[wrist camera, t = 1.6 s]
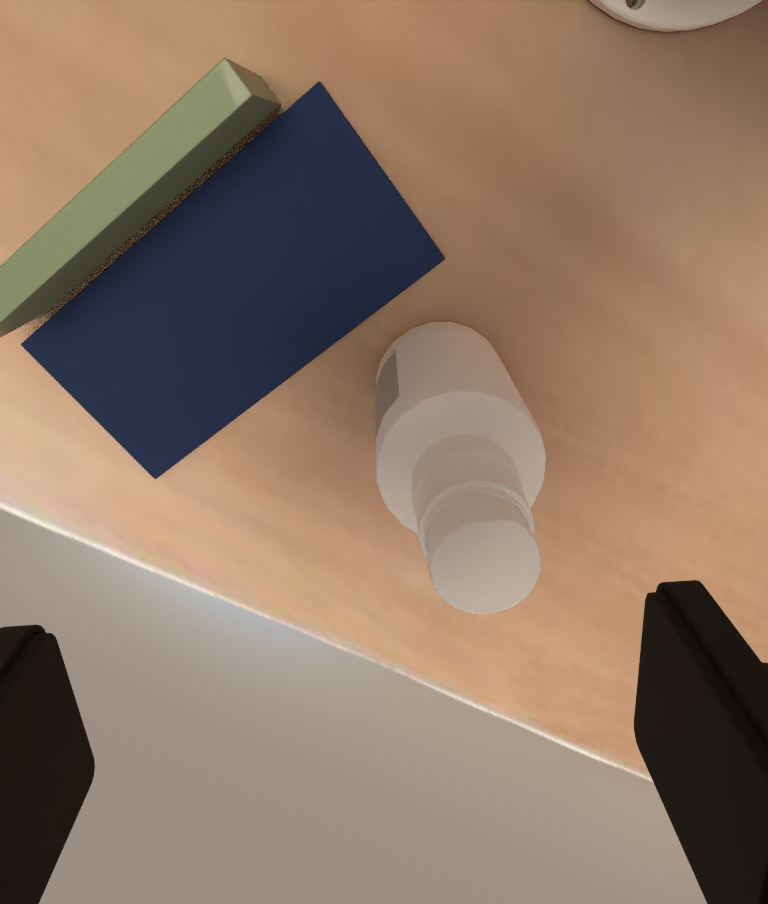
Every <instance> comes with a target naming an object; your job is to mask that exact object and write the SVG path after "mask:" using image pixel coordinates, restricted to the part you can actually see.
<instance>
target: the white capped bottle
mask: <svg viewBox="0 0 768 904" xmlns="http://www.w3.org/2000/svg"><path fill="white" fill-rule="evenodd" d="M545 464H546V452H545V448H544V445H543V441H542V437H541V433H540V430H539V429H538V427H537V425H536V423H535V421H534V419H533V418H532V416H531V414H530V412H529V410H528V409H527V407H526V405H525V403H524V401H523V399H522V398H521V396H520V394H519V392H518V390H517V389H516V387H515V385H514V383H513V381H512V379H511V378H510V376H509V374H508V372H507V370H506V368H505V367H504V365H503V363H502V361H501V359H500V358H499V356H498V354H497V353H496V351H495V350H494V348H493V347H492V346H491V344H490V343H489V341H488V340H487V339H486V338H484V337H483V336H482V335H480V334H479V333H478V332H476V331H475V330H474V329H472V328H470V327H467V326H464V325H461V324H457V323H454V322H429V323H426V324H423V325H420V326H417V327H414V328H411V329H410V330H408V331H407V332H405V333H404V334H403V335H401V336H400V337H398V338H397V339H396V340H394V342H393V343H392V344H391V346H390V347H389V348H388V350H387V351H386V352H385V354H384V355H383V356H382V359H381V362H380V365H379V368H378V371H377V374H376V482H377V485H378V488H379V491H380V493H381V496H382V499H383V502H384V504H385V505H386V506H387V508H388V509H389V510H390V511H391V513H392V514H393V515H394V516H395V517H396V519H397V520H398V521H399V522H400V523H401V524H402V525H404V526H405V527H407V528H408V529H410V530H412V531H413V532H415V533H416V534H418V538H419V543H420V546H421V548H422V551H423V554H424V556H425V557H426V558H427V560H428V565H429V573H430V578H431V581H432V584H433V586H434V589H435V591H436V592H437V593H438V594H439V596H440V597H441V598H442V599H443V600H444V601H445V602H446V603H448V604H449V605H451V606H452V607H454V608H456V609H457V610H460V611H464V612H467V613H471V614H493V613H497V612H501V611H505V610H508V609H509V608H511V607H513V606H515V605H516V604H518V603H520V602H522V601H523V600H524V599H525V597H526V596H527V595H528V594H529V593H530V592H531V591H532V590H533V588H534V586H535V584H536V582H537V580H538V578H539V576H540V570H541V558H540V555H539V552H538V548H537V545H536V542H535V539H534V537H533V535H534V525H535V524H534V521H533V517H532V513H531V509H530V508H531V507H532V506H533V504H534V502H535V500H536V498H537V496H538V494H539V491H540V489H541V487H542V485H543V483H544V474H545Z"/></svg>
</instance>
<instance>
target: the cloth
mask: <svg viewBox="0 0 768 904" xmlns="http://www.w3.org/2000/svg"><path fill="white" fill-rule="evenodd" d="M444 259H445V258H444V256H443V255H442V253H441V252H440V250H439V249H438V248H437V246H436V245H435V243H434V242H433V240H432V239H431V238H430V236H429V235H428V233H427V232H426V231H425V229H424V228H423V226H422V225H421V223H420V222H419V221H418V219H417V218H416V216H415V215H414V214H413V212H412V211H411V209H410V208H409V207H408V205H407V204H406V202H405V201H404V199H403V198H402V197H401V195H400V194H399V192H398V191H397V190H396V188H395V187H394V185H393V184H392V183H391V181H390V180H389V178H388V177H387V175H386V174H385V173H384V171H383V170H382V168H381V167H380V166H379V164H378V163H377V161H376V160H375V158H374V157H373V156H372V154H371V153H370V151H369V150H368V149H367V147H366V146H365V144H364V143H363V142H362V140H361V139H360V137H359V136H358V134H357V133H356V132H355V130H354V129H353V127H352V126H351V125H350V123H349V122H348V120H347V119H346V117H345V116H344V115H343V113H342V112H341V110H340V109H339V108H338V106H337V105H336V103H335V102H334V101H333V99H332V98H331V96H330V95H329V93H328V92H327V91H326V89H325V88H324V86H323V85H322V84H321V82H318V83H317V84H316V85H314V86H313V87H312V88H311V89H310V90H309V91H308V92H307V93H305V94H304V95H303V96H302V97H301V98H300V99H299V100H297V101H296V102H295V103H294V104H293V105H292V106H291V107H290V108H288V109H287V110H286V111H285V112H284V113H283V114H282V115H280V116H279V117H278V118H277V119H276V120H275V121H274V122H272V123H271V124H270V125H269V126H268V127H267V128H266V129H265V130H263V131H262V132H261V133H260V134H259V135H258V136H257V137H255V138H254V139H253V140H252V141H251V142H250V143H249V144H248V145H246V146H245V147H244V148H243V149H242V150H241V151H240V152H238V153H237V154H236V155H235V156H234V157H233V158H232V159H231V160H229V161H228V162H227V163H226V164H225V165H224V166H223V167H221V168H220V169H219V170H218V171H217V172H216V173H215V174H213V175H212V176H211V177H210V178H209V179H208V180H207V181H206V182H204V183H203V184H202V185H201V186H200V187H199V188H198V189H196V190H195V191H194V192H193V193H192V194H191V195H190V196H189V197H187V198H186V199H185V200H184V201H183V202H182V203H181V204H179V205H178V206H177V207H176V208H175V209H174V210H173V211H172V212H170V213H169V214H168V215H167V216H166V217H165V218H164V219H162V220H161V221H160V222H159V223H158V224H157V225H156V226H154V227H153V228H152V229H151V230H150V231H149V232H148V233H147V234H145V235H144V236H143V237H142V238H141V239H140V240H139V241H137V242H136V243H135V244H134V245H133V246H132V247H131V248H130V249H128V250H127V251H126V252H125V253H124V254H123V255H122V256H120V257H119V258H118V259H117V260H116V261H115V262H114V263H113V264H111V265H110V266H109V267H108V268H107V269H106V270H105V271H103V272H102V273H101V274H100V275H99V276H98V277H97V278H95V279H94V280H93V281H92V282H91V283H90V284H89V285H88V286H86V287H85V288H84V289H83V290H82V291H81V292H80V293H78V294H77V295H76V296H75V297H74V298H73V299H72V300H71V301H69V302H68V303H67V304H66V305H65V306H64V307H63V308H61V309H60V310H59V311H58V312H57V313H56V314H55V315H54V316H52V317H51V318H50V319H49V320H48V321H47V322H46V323H44V324H43V325H42V326H41V327H40V328H39V329H38V330H36V331H35V332H34V333H33V334H32V335H31V336H30V337H29V338H27V339H26V340H25V341H24V342H23V343H22V344H21V345H22V346H23V347H24V348H25V349H26V350H27V351H28V352H29V353H30V354H31V355H32V356H33V357H34V358H35V359H36V360H37V361H38V362H39V363H40V364H41V365H42V366H43V367H44V368H45V369H46V370H47V371H48V372H49V373H50V375H51V376H52V377H53V378H54V379H55V380H56V381H57V382H58V383H59V384H60V385H61V386H62V387H63V388H64V389H65V390H66V391H67V392H68V393H69V394H70V395H71V396H72V397H73V398H74V399H75V400H76V401H77V402H78V403H79V404H80V405H81V406H82V407H83V408H84V409H85V410H86V411H87V412H88V413H89V414H90V415H91V416H92V417H93V418H94V419H95V420H96V421H97V422H98V423H99V424H100V425H101V426H102V427H103V428H104V429H105V430H106V431H107V432H108V433H109V434H110V435H111V436H112V437H113V438H114V439H115V440H116V441H117V442H118V443H119V444H120V445H121V446H122V447H123V448H124V449H125V450H126V451H127V452H128V453H129V454H130V455H131V456H132V457H133V458H134V459H135V460H136V461H137V462H138V463H139V464H140V465H141V466H142V467H143V468H144V469H145V470H146V471H147V472H148V473H149V474H150V475H151V476H152V477H153V478H154V479H156V478H158V477H159V476H160V475H162V474H163V473H164V472H166V471H167V470H168V469H170V468H171V467H172V466H173V465H175V464H176V463H177V462H179V461H180V460H181V459H183V458H184V457H185V456H187V455H188V454H189V453H191V452H192V451H193V450H195V449H196V448H197V447H198V446H200V445H201V444H202V443H204V442H205V441H206V440H208V439H209V438H210V437H212V436H213V435H214V434H216V433H217V432H218V431H219V430H221V429H222V428H223V427H225V426H226V425H227V424H229V423H230V422H231V421H233V420H234V419H235V418H237V417H238V416H239V415H241V414H242V413H243V412H244V411H246V410H247V409H248V408H250V407H251V406H252V405H254V404H255V403H256V402H258V401H259V400H260V399H262V398H263V397H264V396H266V395H267V394H268V393H269V392H271V391H272V390H273V389H275V388H276V387H277V386H279V385H280V384H281V383H283V382H284V381H285V380H287V379H288V378H289V377H291V376H292V375H293V374H294V373H296V372H297V371H298V370H300V369H301V368H302V367H304V366H305V365H306V364H308V363H309V362H310V361H312V360H313V359H314V358H315V357H317V356H318V355H319V354H321V353H322V352H323V351H325V350H326V349H327V348H329V347H330V346H331V345H333V344H334V343H335V342H337V341H338V340H339V339H340V338H342V337H343V336H344V335H346V334H347V333H348V332H350V331H351V330H352V329H354V328H355V327H356V326H358V325H359V324H360V323H362V322H363V321H364V320H365V319H367V318H368V317H369V316H371V315H372V314H373V313H375V312H376V311H377V310H379V309H380V308H381V307H383V306H384V305H385V304H387V303H388V302H389V301H390V300H392V299H393V298H394V297H396V296H397V295H398V294H400V293H401V292H402V291H404V290H405V289H406V288H408V287H409V286H410V285H411V284H413V283H414V282H415V281H417V280H418V279H419V278H421V277H422V276H423V275H425V274H426V273H427V272H429V271H430V270H431V269H433V268H434V267H435V266H436V265H438V264H439V263H440V262H442V261H443V260H444Z"/></svg>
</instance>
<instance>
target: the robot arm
mask: <svg viewBox="0 0 768 904" xmlns="http://www.w3.org/2000/svg"><path fill="white" fill-rule="evenodd" d="M590 1H591V3H593V4H594V5H596V6H597V7H599V8H600V9H601V10H603V11H604V12H606V13H607V14H609V15H610V16H611V17H613V18H615V19H617V20H620V21H622V22H625V23H627V24H630V25H632V26H635V27H637V28H641V29H648V30H655V31H662V32H672V31H686V30H694V29H698V28H701V27H705V26H709V25H713V24H716V23H719V22H721V21H724V20H726V19H729V18H731V17H733V16H736V15H738V14H741V13H743V12H745V11H746V10H748V9H749V8H751V7H753V6H754V5H756V4H757V3H759V2H761V1H762V0H634V5H633V6H632V7H628V6H627V5H626V1H625V0H590ZM634 732H635V738H636V742H637V745H638V748H639V750H640V753H641V755H642V757H643V759H644V762H645V764H646V766H647V768H648V771H649V773H650V775H651V777H652V780H653V782H654V784H655V786H656V789H657V791H658V793H659V795H660V798H661V800H662V802H663V804H664V807H665V809H666V811H667V813H668V816H669V818H670V820H671V822H672V825H673V827H674V829H675V832H676V834H677V836H678V838H679V841H680V843H681V845H682V847H683V850H684V852H685V854H686V856H687V858H688V861H689V863H690V865H691V868H692V870H693V872H694V874H695V877H696V879H697V881H698V883H699V886H700V888H701V890H702V892H703V895H704V897H705V899H706V901H707V904H768V663H762V662H761V661H760V660H759V658H758V657H757V656H756V654H755V653H754V652H753V650H752V649H751V648H750V646H749V645H748V644H747V642H746V641H745V640H744V638H743V637H742V636H741V635H740V633H739V632H738V631H737V629H736V628H735V627H734V625H733V624H732V623H731V621H730V620H729V619H728V617H727V616H726V615H725V613H724V612H723V611H722V609H721V608H720V607H719V605H718V604H717V603H716V601H715V600H714V599H713V597H712V596H711V595H710V593H709V592H708V591H707V590H706V588H705V587H704V586H703V584H702V583H701V582H700V581H696V580H692V581H677V582H663V583H660V584H659V585H658V587H657V590H656V592H654V593H648V594H647V596H646V600H645V609H644V620H643V631H642V641H641V652H640V663H639V674H638V684H637V695H636V706H635V717H634ZM94 768H95V767H94V757H93V754H92V751H91V747H90V744H89V741H88V738H87V735H86V731H85V728H84V725H83V722H82V719H81V716H80V712H79V709H78V706H77V703H76V699H75V696H74V694H73V690H72V687H71V684H70V680H69V677H68V674H67V671H66V668H65V664H64V661H63V658H62V655H61V652H60V648H59V645H58V643H57V640H56V638H55V636H54V635H53V634H51V633H46V632H45V630H44V629H43V628H42V626H39V625H26V626H12V627H3V628H0V904H39V902H40V899H41V897H42V895H43V893H44V890H45V888H46V886H47V883H48V881H49V879H50V877H51V874H52V872H53V869H54V867H55V865H56V863H57V860H58V858H59V856H60V854H61V851H62V849H63V847H64V845H65V843H66V840H67V838H68V836H69V833H70V831H71V829H72V827H73V824H74V822H75V820H76V818H77V815H78V813H79V811H80V809H81V806H82V804H83V802H84V799H85V797H86V795H87V793H88V790H89V788H90V786H91V783H92V780H93V776H94Z"/></svg>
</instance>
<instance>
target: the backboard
mask: <svg viewBox="0 0 768 904" xmlns="http://www.w3.org/2000/svg"><path fill="white" fill-rule="evenodd" d="M280 105H281V104H280V102H279V101H278V99H277V98H276V96H275V95H274V94H273V92H272V91H271V90H270V88H269V87H268V86H267V84H266V83H265V82H264V80H263V79H262V77H261V76H259V75H257V74H256V73H254V72H252V71H250V70H248V69H246V68H244V67H242V66H240V65H238V64H236V63H234V62H232V61H230V60H228V59H227V58H223V59H222V60H221V61H220V62H219V63H218V64H217V65H216V66H215V67H213V68H212V69H211V70H210V71H209V72H208V73H207V74H206V75H205V76H204V77H203V78H202V79H201V80H200V81H198V82H197V83H196V84H195V85H194V86H193V87H192V88H191V89H190V90H189V91H188V92H187V93H186V94H184V95H183V96H182V97H181V98H180V99H179V100H178V101H177V102H176V103H175V104H174V105H173V106H172V107H171V108H169V109H168V110H167V111H166V112H165V113H164V114H163V115H162V116H161V117H160V118H159V119H158V120H157V121H155V122H154V123H153V124H152V125H151V126H150V127H149V128H148V129H147V130H146V131H145V132H144V133H143V134H142V135H140V136H139V137H138V138H137V139H136V140H135V141H134V142H133V143H132V144H131V145H130V146H129V147H128V148H126V149H125V150H124V151H123V152H122V153H121V154H120V155H119V156H118V157H117V158H116V159H115V160H114V161H113V162H111V163H110V164H109V165H108V166H107V167H106V168H105V169H104V170H103V171H102V172H101V173H100V174H99V175H97V176H96V177H95V178H94V179H93V180H92V181H91V182H90V183H89V184H88V185H87V186H86V187H85V188H84V189H82V190H81V191H80V192H79V193H78V194H77V195H76V196H75V197H74V198H73V199H72V200H71V201H70V202H68V203H67V204H66V205H65V206H64V207H63V208H62V209H61V210H60V211H59V212H58V213H57V214H56V215H55V216H53V217H52V218H51V219H50V220H49V221H48V222H47V223H46V224H45V225H44V226H43V227H42V228H41V229H39V230H38V231H37V232H36V233H35V234H34V235H33V236H32V237H31V238H30V239H29V240H28V241H27V242H26V243H24V244H23V245H22V246H21V247H20V248H19V249H18V250H17V251H16V252H15V253H14V254H13V255H12V256H10V257H9V258H8V259H7V260H6V261H5V262H4V263H3V264H2V265H1V266H0V337H2V336H4V335H6V334H8V333H10V332H12V331H13V330H15V329H17V328H19V327H21V326H23V325H25V324H27V323H28V322H30V321H32V320H34V319H36V318H38V317H40V316H42V315H44V314H45V313H46V312H47V311H49V310H50V309H51V308H52V307H53V306H54V305H55V304H57V303H58V302H59V301H60V300H61V299H62V298H63V297H64V296H66V295H67V294H68V293H69V292H70V291H71V290H72V289H73V288H75V287H76V286H77V285H78V284H79V283H80V282H81V281H82V280H84V279H85V278H86V277H87V276H88V275H89V274H90V273H92V272H93V271H94V270H95V269H96V268H97V267H98V266H99V265H101V264H102V263H103V262H104V261H105V260H106V259H107V258H108V257H110V256H111V255H112V254H113V253H114V252H115V251H116V250H117V249H119V248H120V247H121V246H122V245H123V244H124V243H125V242H126V241H128V240H129V239H130V238H131V237H132V236H133V235H134V234H136V233H137V232H138V231H139V230H140V229H141V228H142V227H143V226H145V225H146V224H147V223H148V222H149V221H150V220H151V219H152V218H154V217H155V216H156V215H157V214H158V213H159V212H160V211H161V210H163V209H164V208H165V207H166V206H167V205H168V204H169V203H171V202H172V201H173V200H174V199H175V198H176V197H177V196H178V195H180V194H181V193H182V192H183V191H184V190H185V189H186V188H187V187H189V186H190V185H191V184H192V183H193V182H194V181H195V180H196V179H198V178H199V177H200V176H201V175H202V174H203V173H204V172H206V171H207V170H208V169H209V168H210V167H211V166H212V165H213V164H215V163H216V162H217V161H218V160H219V159H220V158H221V157H222V156H224V155H225V154H226V153H227V152H228V151H229V150H230V149H231V148H233V147H234V146H235V145H236V144H237V143H238V142H239V141H240V140H242V139H243V138H244V137H245V136H246V135H247V134H248V133H250V132H251V131H252V130H253V129H254V128H255V127H256V126H257V125H259V124H260V123H261V122H262V121H263V120H264V119H265V118H266V117H268V116H269V115H270V114H271V113H272V112H273V111H274V110H275V109H277V108H278V107H279V106H280Z"/></svg>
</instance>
